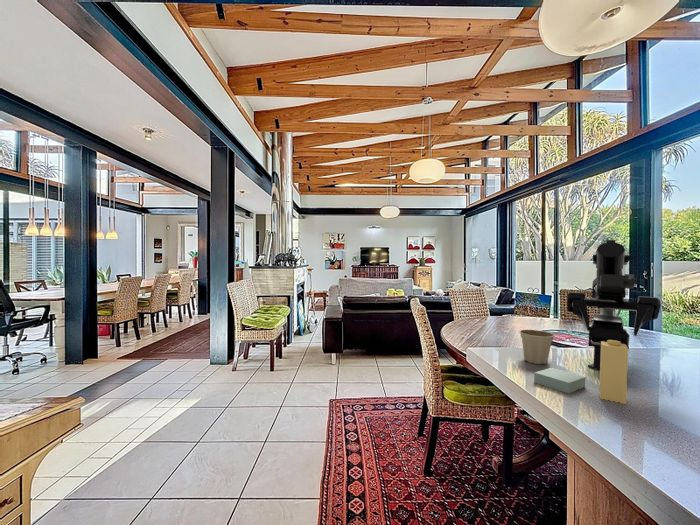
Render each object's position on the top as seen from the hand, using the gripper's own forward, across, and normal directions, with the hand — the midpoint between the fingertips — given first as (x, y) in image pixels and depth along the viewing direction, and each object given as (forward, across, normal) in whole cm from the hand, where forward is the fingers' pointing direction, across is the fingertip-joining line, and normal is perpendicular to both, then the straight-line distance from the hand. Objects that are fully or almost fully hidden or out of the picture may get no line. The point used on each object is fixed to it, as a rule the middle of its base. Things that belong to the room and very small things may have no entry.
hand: (611, 332), depth 84 cm
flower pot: (+1, -17, +19) cm, 25 cm away
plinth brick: (+14, -10, +5) cm, 18 cm away
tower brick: (+15, 0, +4) cm, 16 cm away
